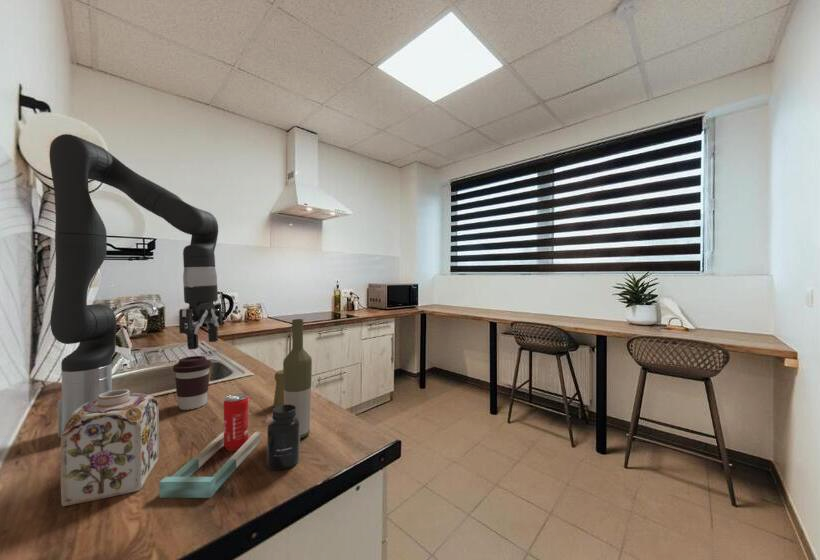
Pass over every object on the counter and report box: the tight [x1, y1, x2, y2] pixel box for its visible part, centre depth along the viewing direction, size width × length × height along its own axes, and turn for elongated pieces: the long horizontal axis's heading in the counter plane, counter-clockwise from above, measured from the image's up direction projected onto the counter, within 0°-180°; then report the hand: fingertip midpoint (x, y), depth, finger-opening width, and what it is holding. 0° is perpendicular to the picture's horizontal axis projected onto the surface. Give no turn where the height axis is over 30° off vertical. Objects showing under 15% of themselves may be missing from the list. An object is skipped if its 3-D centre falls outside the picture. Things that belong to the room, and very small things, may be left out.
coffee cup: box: [172, 355, 212, 411], centre depth 101 cm, size 10×10×15 cm
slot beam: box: [158, 431, 262, 499], centre depth 71 cm, size 10×21×3 cm, turn 0°
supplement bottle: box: [266, 405, 301, 471], centre depth 72 cm, size 7×7×12 cm
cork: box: [272, 369, 284, 408], centre depth 103 cm, size 6×6×11 cm
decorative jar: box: [60, 389, 160, 507], centre depth 65 cm, size 12×12×18 cm
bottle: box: [282, 318, 313, 439], centre depth 83 cm, size 7×7×30 cm
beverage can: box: [223, 392, 249, 452], centre depth 78 cm, size 5×5×12 cm
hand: (203, 345), depth 86 cm, fingers open, 8 cm apart
